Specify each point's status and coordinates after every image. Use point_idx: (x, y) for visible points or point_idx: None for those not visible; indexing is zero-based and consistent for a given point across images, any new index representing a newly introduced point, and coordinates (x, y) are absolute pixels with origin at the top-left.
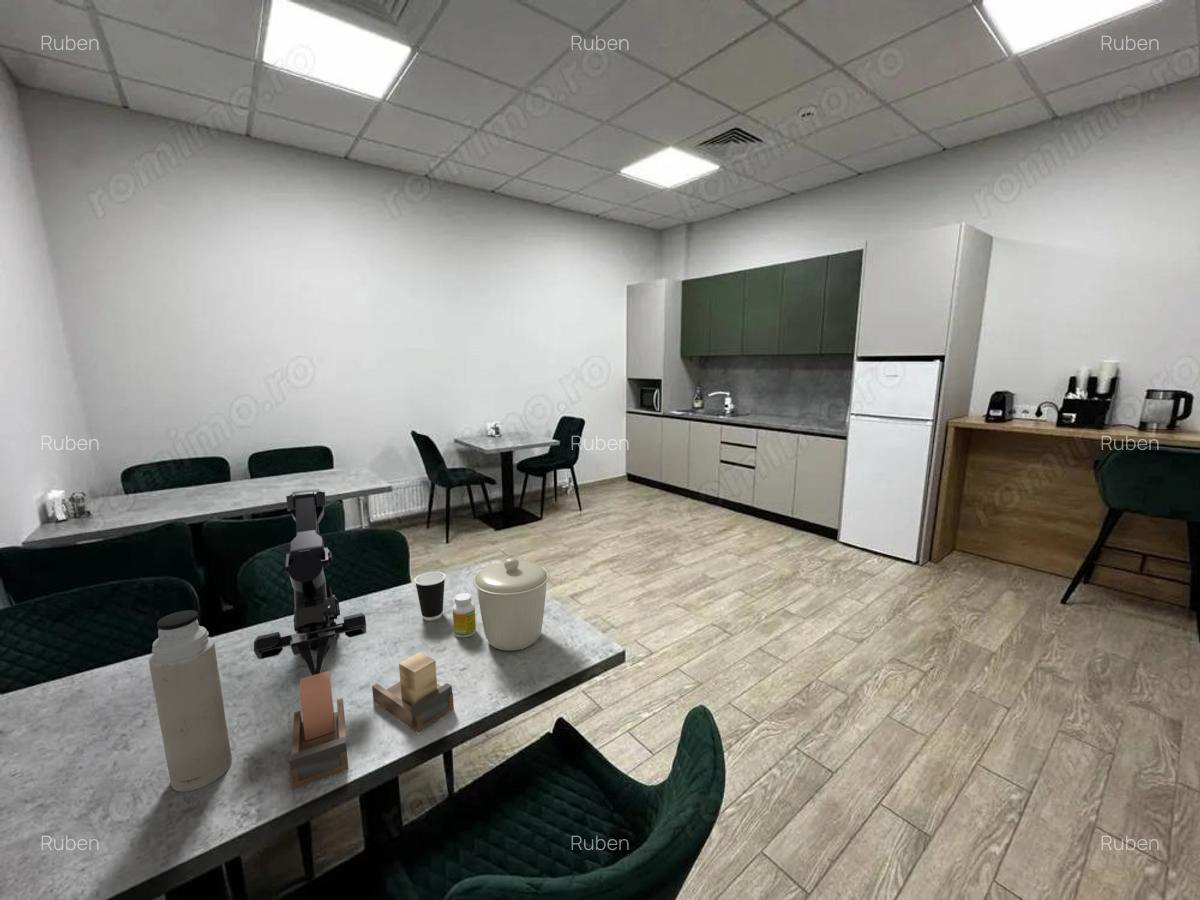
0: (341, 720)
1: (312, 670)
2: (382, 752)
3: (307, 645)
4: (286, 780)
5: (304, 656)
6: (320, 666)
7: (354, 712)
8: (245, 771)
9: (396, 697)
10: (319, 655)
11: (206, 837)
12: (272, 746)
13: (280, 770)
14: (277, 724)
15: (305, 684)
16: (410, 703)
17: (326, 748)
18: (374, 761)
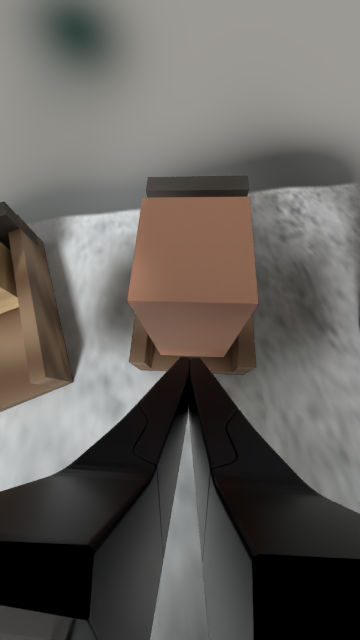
0: None
1: (203, 377)
2: (104, 231)
3: (259, 518)
4: None
5: (264, 448)
6: (161, 378)
7: (120, 364)
8: (322, 295)
9: (18, 290)
10: (149, 422)
11: (337, 198)
12: (286, 341)
13: (259, 268)
14: (291, 423)
15: (232, 245)
16: (7, 264)
17: (182, 177)
18: (120, 220)
